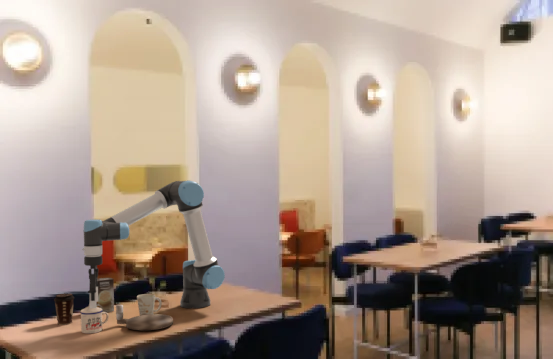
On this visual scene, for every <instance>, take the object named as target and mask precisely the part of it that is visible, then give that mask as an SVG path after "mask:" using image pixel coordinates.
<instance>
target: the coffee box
mask: <svg viewBox="0 0 553 359" xmlns="http://www.w3.org/2000/svg"><path fill="white" fill-rule="evenodd" d="M98 284H99V286H96V287H98V302H96V305H97V307H98V308H101V309H102V312H106V313H112V311H114V312H115V298H114V297H115V295H114V290H115V288H114V287H115V286H114V278H112V277H103V278H102V277H100V278H98Z"/></svg>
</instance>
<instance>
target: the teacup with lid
mask: <svg viewBox="0 0 553 359" xmlns="http://www.w3.org/2000/svg"><path fill="white" fill-rule="evenodd" d="M104 314H105V315H106V318H105V319H104V320H103V315H104ZM108 321H109V312H102V309H101V308H98V307H97V308H90V303H89V304H88V306H86V307H85V308H82V309H81V310H80V326H81V327H80V329H81V330H80V331H81V333H83V334H96V333H100V332H101V331H103V325H105V324H106V323H107V322H108Z"/></svg>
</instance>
